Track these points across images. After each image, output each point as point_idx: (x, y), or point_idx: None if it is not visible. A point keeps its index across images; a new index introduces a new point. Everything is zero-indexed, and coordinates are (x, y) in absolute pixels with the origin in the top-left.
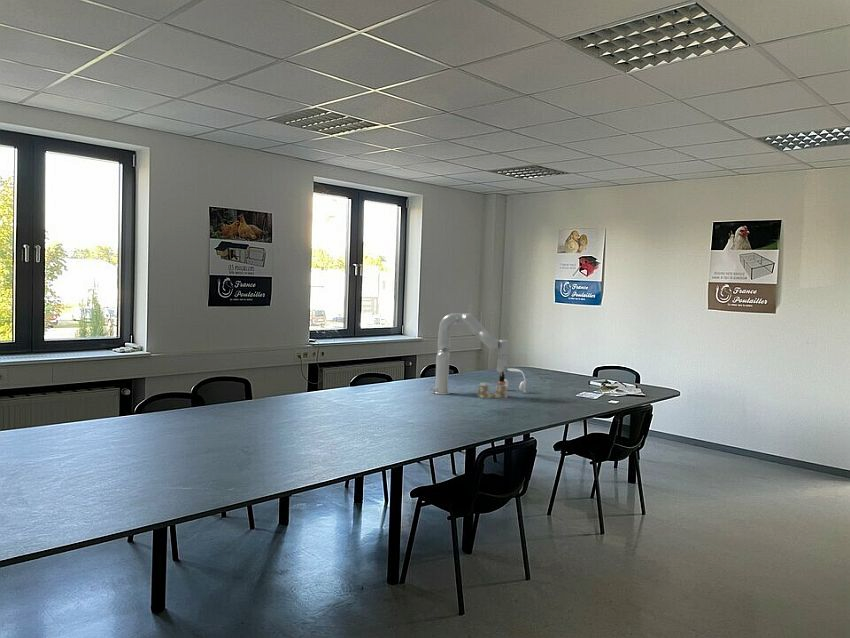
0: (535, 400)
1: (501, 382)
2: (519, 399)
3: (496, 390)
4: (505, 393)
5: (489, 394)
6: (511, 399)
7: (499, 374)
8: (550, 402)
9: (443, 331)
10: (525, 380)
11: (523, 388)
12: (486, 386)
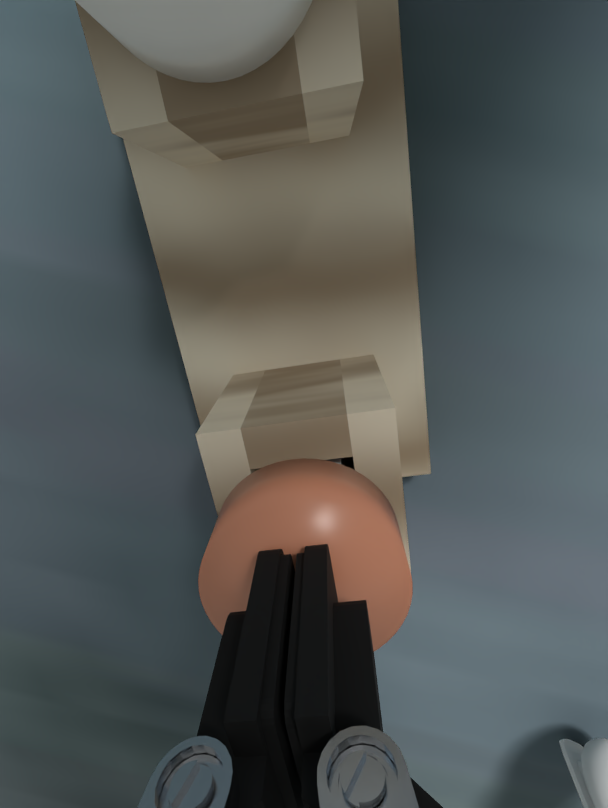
0: (101, 710)
1: (207, 550)
2: (120, 584)
3: (356, 375)
4: None
5: (284, 205)
6: (94, 494)
7: (409, 797)
8: (30, 786)
9: None
10: None
11: (582, 793)
12: None
